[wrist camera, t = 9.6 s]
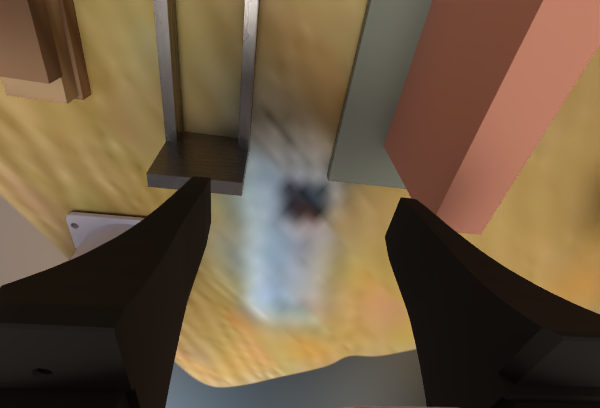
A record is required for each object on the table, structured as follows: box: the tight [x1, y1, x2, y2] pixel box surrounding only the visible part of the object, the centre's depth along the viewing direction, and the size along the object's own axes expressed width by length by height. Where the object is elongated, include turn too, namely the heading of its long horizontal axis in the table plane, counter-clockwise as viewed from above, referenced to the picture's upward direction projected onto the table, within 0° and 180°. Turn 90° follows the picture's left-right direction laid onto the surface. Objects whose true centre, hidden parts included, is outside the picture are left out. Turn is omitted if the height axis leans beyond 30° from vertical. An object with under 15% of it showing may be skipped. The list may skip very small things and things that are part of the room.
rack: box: [146, 0, 260, 196], centre depth 15 cm, size 14×5×5 cm, turn 171°
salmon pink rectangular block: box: [384, 0, 600, 235], centre depth 15 cm, size 10×2×8 cm, turn 171°
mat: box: [327, 0, 432, 189], centre depth 19 cm, size 16×8×1 cm, turn 171°
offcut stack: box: [0, 0, 91, 104], centre depth 15 cm, size 8×3×4 cm, turn 170°
